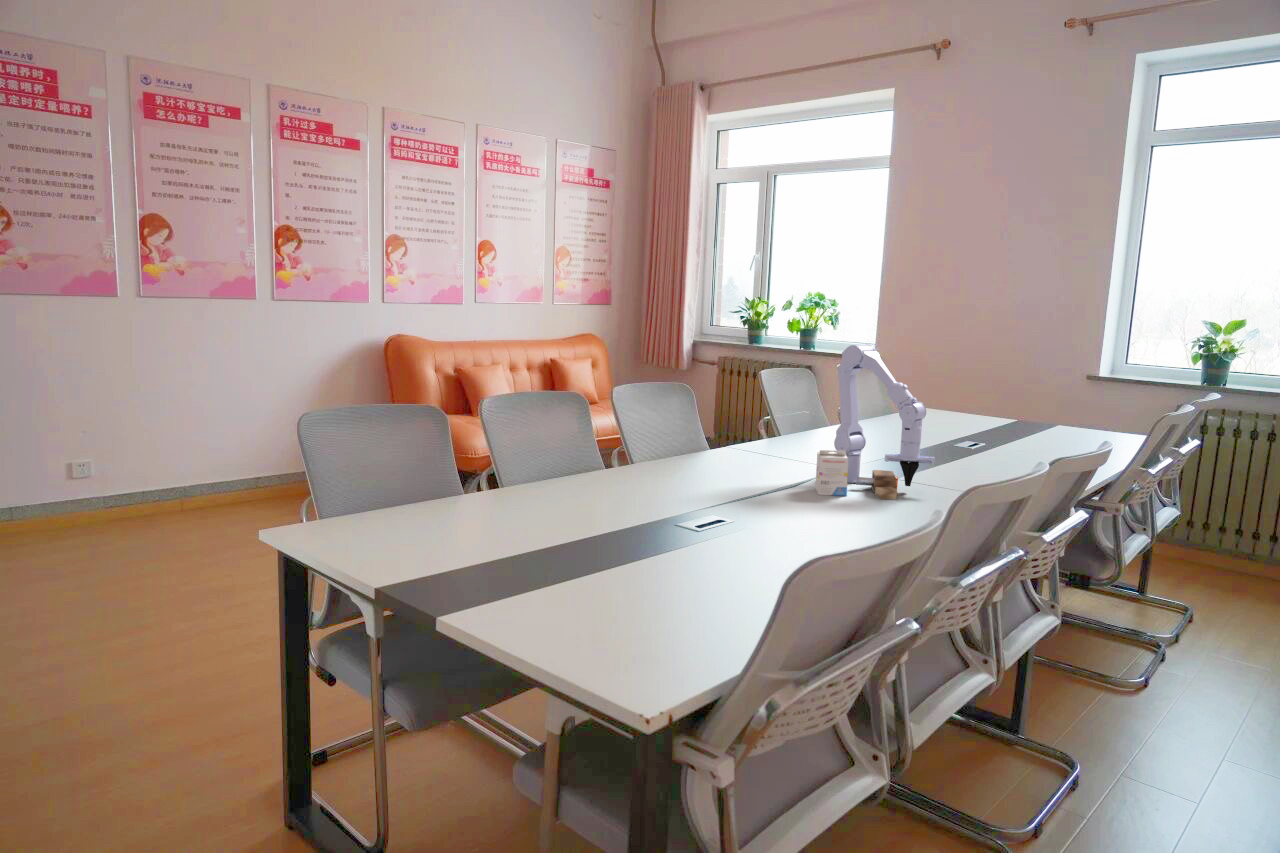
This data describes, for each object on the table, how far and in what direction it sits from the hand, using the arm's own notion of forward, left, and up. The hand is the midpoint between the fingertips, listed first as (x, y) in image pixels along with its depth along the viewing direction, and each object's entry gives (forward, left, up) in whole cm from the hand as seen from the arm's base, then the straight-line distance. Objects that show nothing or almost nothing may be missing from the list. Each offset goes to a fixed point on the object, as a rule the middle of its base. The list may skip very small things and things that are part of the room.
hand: (907, 485), depth 262 cm
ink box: (-23, -7, -2) cm, 24 cm away
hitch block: (-7, 0, -2) cm, 8 cm away
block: (-7, -9, -2) cm, 12 cm away
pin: (-9, 0, -1) cm, 9 cm away
